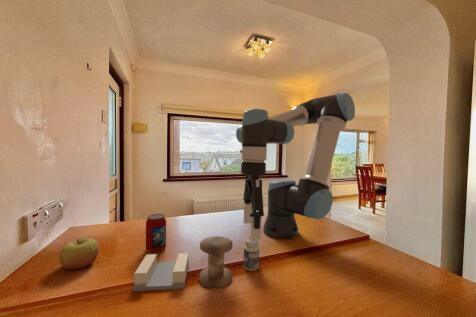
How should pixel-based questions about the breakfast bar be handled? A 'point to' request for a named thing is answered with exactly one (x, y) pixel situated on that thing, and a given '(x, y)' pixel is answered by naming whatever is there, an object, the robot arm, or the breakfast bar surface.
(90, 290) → the breakfast bar surface
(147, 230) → the beverage can
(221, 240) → the bobbin
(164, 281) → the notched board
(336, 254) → the breakfast bar surface
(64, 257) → the apple
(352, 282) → the breakfast bar surface
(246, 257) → the pill bottle
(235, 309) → the breakfast bar surface
